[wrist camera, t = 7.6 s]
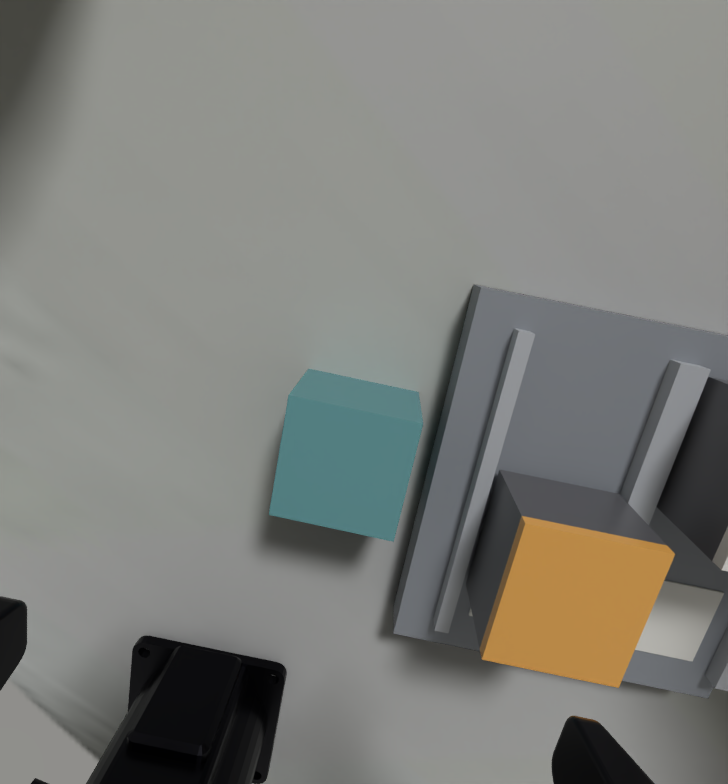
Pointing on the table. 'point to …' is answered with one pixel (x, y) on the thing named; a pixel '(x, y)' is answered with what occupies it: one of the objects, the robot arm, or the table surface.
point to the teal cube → (346, 454)
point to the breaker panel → (569, 463)
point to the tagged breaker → (563, 578)
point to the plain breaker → (702, 476)
